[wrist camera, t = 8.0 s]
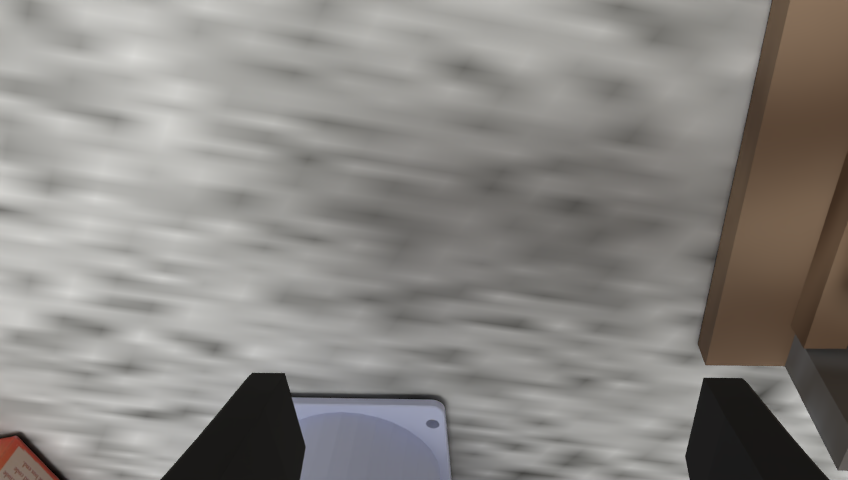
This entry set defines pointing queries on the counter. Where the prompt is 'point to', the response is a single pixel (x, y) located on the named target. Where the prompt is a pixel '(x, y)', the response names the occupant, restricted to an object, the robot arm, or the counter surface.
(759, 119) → the cradle
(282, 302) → the counter surface
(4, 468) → the cracker box
